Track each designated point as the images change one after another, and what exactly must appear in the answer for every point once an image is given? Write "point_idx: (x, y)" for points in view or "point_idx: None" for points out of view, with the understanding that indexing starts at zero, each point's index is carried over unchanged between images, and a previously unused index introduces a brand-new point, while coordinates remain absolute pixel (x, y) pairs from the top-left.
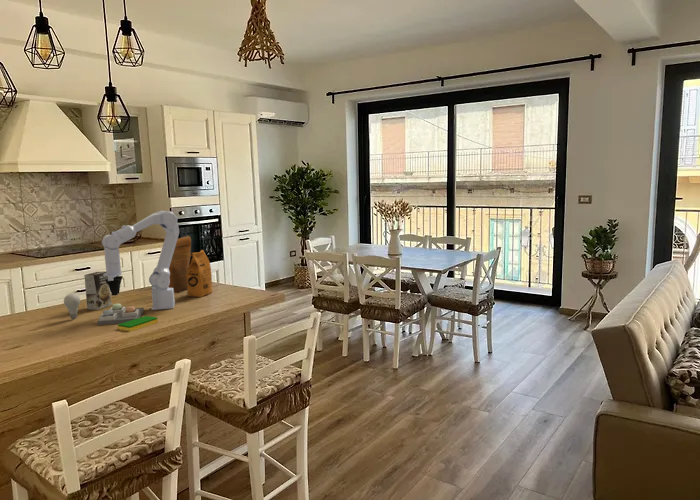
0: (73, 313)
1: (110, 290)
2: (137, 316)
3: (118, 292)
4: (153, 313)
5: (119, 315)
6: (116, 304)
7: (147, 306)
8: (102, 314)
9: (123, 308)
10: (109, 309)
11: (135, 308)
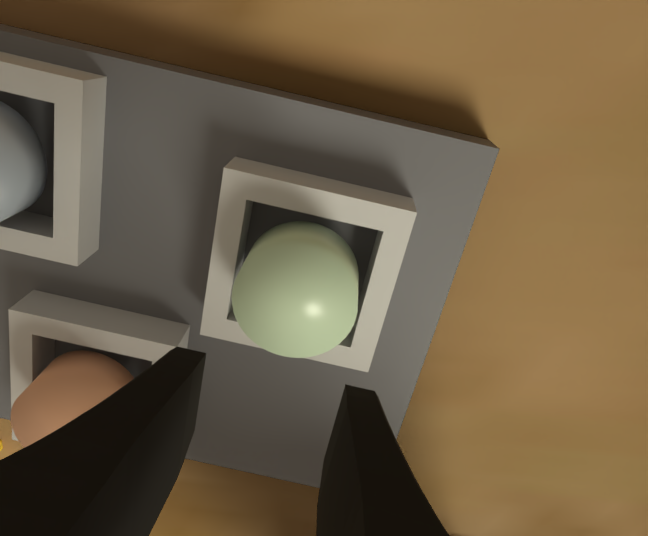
0: None
1: (107, 397)
2: (10, 415)
3: (325, 469)
4: (223, 517)
5: (123, 271)
6: (310, 304)
7: (543, 516)
8: (38, 86)
9: None
10: (311, 187)
11: None
